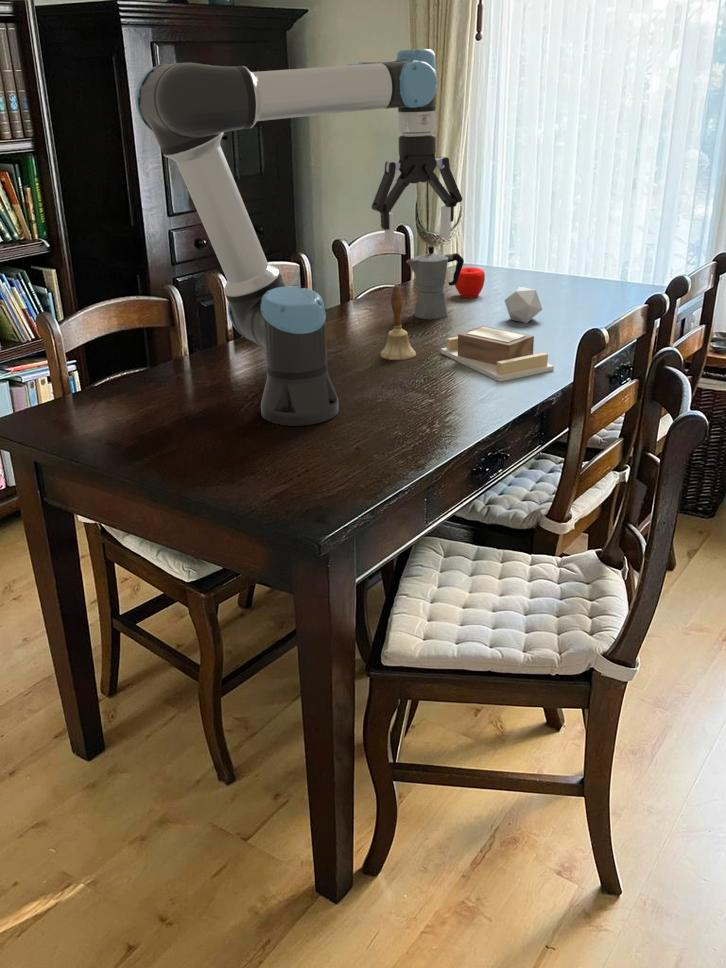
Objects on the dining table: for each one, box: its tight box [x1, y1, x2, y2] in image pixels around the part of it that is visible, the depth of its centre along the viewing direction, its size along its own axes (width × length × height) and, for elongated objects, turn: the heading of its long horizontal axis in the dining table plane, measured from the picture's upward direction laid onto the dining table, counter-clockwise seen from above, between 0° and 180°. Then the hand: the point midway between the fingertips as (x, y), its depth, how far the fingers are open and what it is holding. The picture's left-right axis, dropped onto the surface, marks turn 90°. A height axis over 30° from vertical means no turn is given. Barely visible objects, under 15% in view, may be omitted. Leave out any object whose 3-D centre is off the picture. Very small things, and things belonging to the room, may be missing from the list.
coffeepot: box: [406, 245, 465, 320], centre depth 235 cm, size 15×9×18 cm, turn 103°
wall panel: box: [440, 335, 555, 382], centre depth 200 cm, size 14×24×4 cm, turn 26°
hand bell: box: [379, 285, 417, 361], centre depth 204 cm, size 8×8×16 cm
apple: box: [452, 266, 486, 299], centre depth 253 cm, size 9×9×8 cm
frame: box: [457, 325, 535, 365], centre depth 199 cm, size 9×14×5 cm, turn 46°
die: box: [504, 286, 543, 324], centre depth 229 cm, size 8×9×10 cm
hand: (417, 241), depth 190 cm, fingers open, 13 cm apart
